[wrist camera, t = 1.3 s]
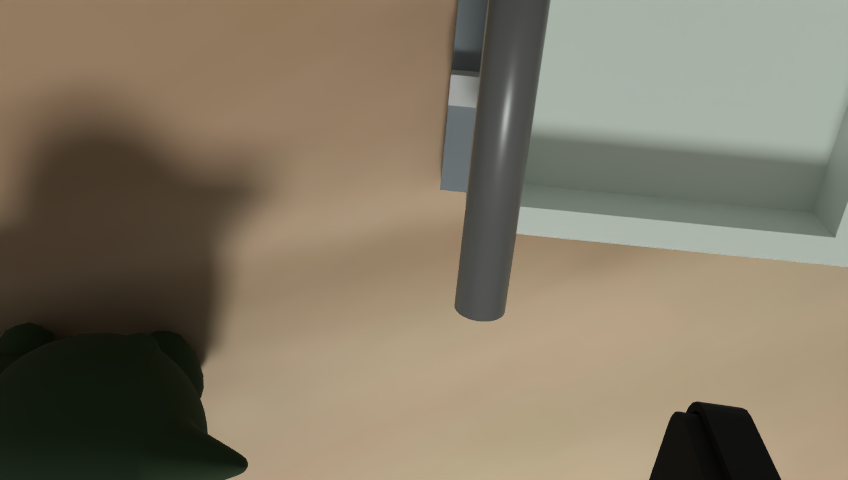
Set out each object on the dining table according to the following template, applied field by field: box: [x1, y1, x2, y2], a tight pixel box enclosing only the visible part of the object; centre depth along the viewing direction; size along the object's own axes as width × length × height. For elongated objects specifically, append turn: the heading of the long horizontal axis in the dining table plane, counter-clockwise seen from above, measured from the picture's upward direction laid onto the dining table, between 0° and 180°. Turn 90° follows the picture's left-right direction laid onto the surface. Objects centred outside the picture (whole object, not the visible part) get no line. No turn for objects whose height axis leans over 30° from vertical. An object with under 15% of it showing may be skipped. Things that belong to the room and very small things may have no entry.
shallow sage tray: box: [455, 0, 848, 321], centre depth 23 cm, size 16×13×11 cm
